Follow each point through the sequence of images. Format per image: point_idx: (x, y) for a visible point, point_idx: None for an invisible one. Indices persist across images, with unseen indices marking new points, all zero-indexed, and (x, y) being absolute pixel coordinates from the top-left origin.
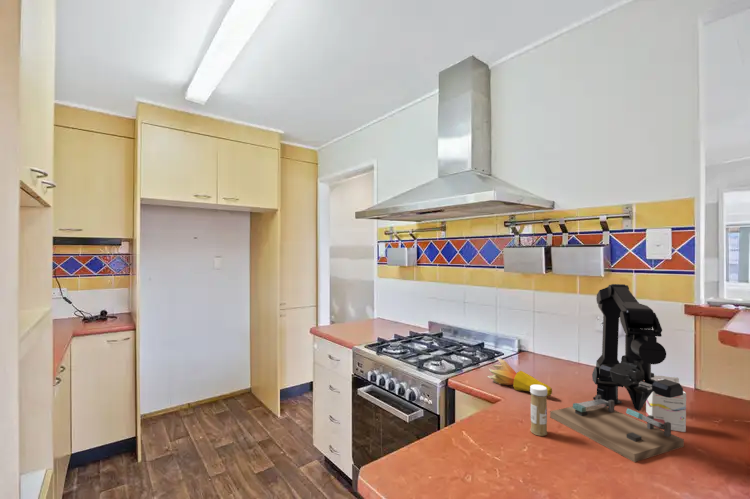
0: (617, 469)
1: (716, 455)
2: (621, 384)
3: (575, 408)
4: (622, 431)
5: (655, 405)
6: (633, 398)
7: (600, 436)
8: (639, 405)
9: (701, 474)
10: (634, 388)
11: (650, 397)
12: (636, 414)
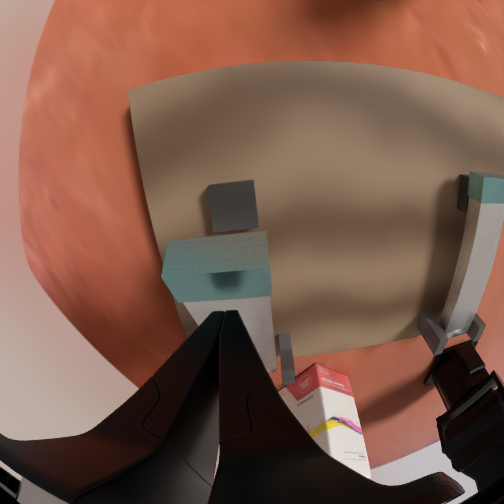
0: (129, 8)
1: (153, 366)
2: (392, 489)
3: (493, 174)
4: (306, 216)
5: (318, 428)
6: (227, 375)
7: (298, 63)
8: (186, 343)
9: (70, 250)
10: (62, 484)
11: (340, 445)
12: (180, 256)
